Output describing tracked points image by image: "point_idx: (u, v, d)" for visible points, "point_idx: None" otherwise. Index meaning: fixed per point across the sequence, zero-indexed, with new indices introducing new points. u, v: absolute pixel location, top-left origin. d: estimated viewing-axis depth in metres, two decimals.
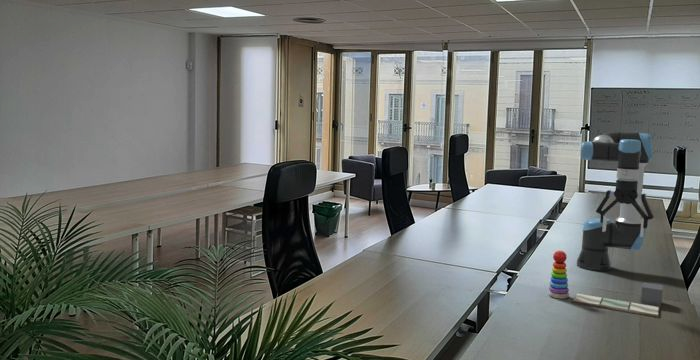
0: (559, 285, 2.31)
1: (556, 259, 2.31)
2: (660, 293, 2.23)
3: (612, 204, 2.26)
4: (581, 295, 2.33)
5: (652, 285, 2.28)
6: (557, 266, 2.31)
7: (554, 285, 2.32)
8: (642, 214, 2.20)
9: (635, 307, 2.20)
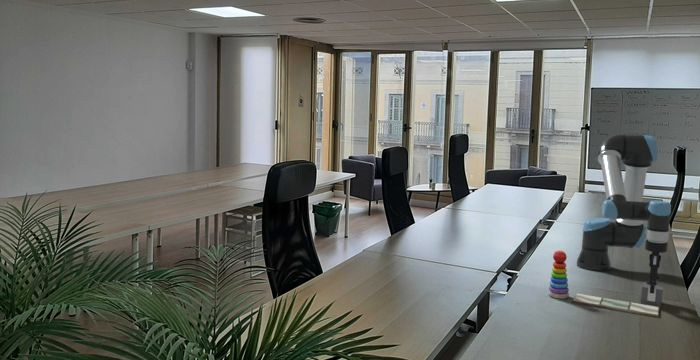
0: (559, 285, 2.31)
1: (556, 259, 2.31)
2: (660, 292, 2.23)
3: None
4: (581, 295, 2.33)
5: None
6: (557, 266, 2.31)
7: (554, 285, 2.32)
8: None
9: (635, 307, 2.20)
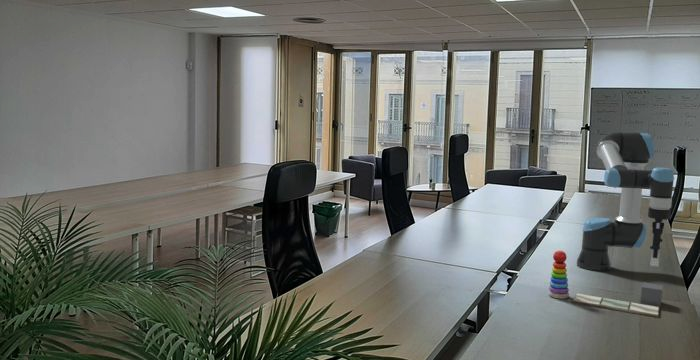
0: (559, 285, 2.31)
1: (556, 259, 2.31)
2: (659, 293, 2.23)
3: None
4: (581, 295, 2.33)
5: (652, 285, 2.28)
6: (557, 266, 2.31)
7: (554, 285, 2.32)
8: None
9: (635, 307, 2.20)
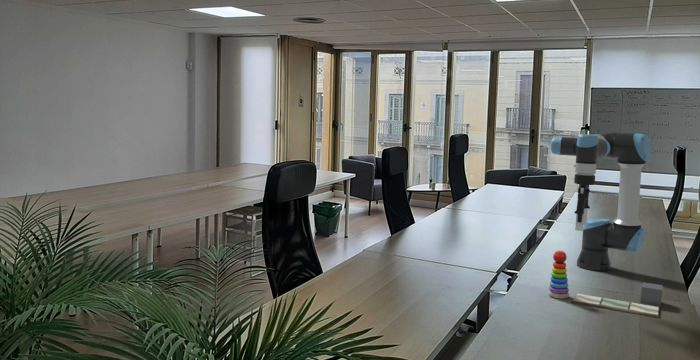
0: (559, 285, 2.31)
1: (556, 259, 2.31)
2: (659, 293, 2.23)
3: None
4: (581, 295, 2.33)
5: (652, 285, 2.28)
6: (557, 266, 2.31)
7: (554, 285, 2.32)
8: None
9: (635, 307, 2.20)
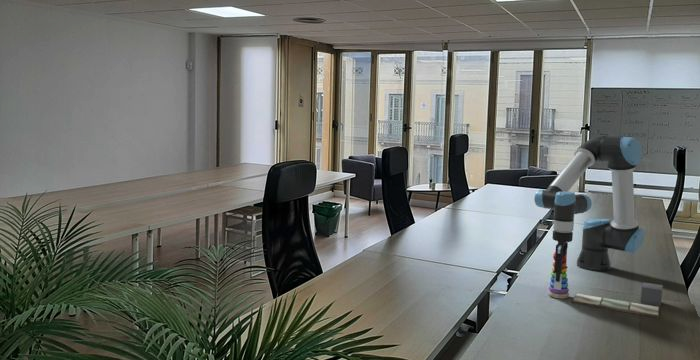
0: None
1: None
2: (659, 293, 2.23)
3: None
4: (581, 295, 2.33)
5: (652, 285, 2.28)
6: None
7: None
8: None
9: (635, 307, 2.20)
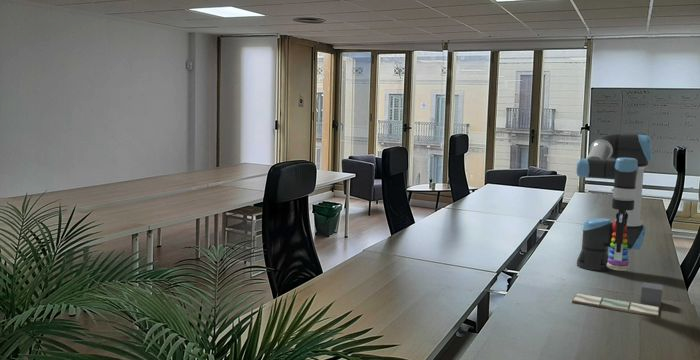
0: None
1: None
2: (659, 293, 2.23)
3: None
4: (581, 295, 2.33)
5: (652, 285, 2.28)
6: None
7: None
8: None
9: (635, 307, 2.20)
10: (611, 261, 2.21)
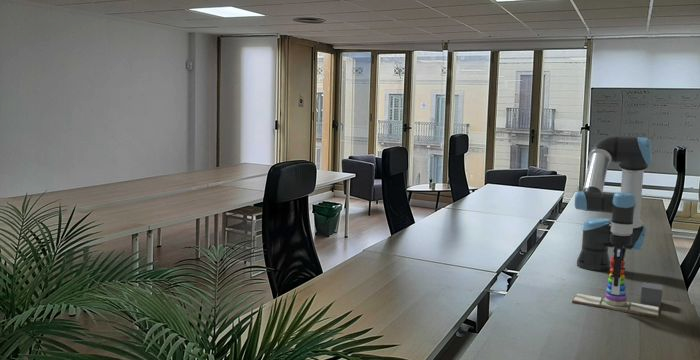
0: None
1: None
2: (659, 293, 2.23)
3: None
4: (581, 295, 2.33)
5: (652, 285, 2.28)
6: None
7: None
8: None
9: (635, 307, 2.20)
10: (609, 296, 2.22)
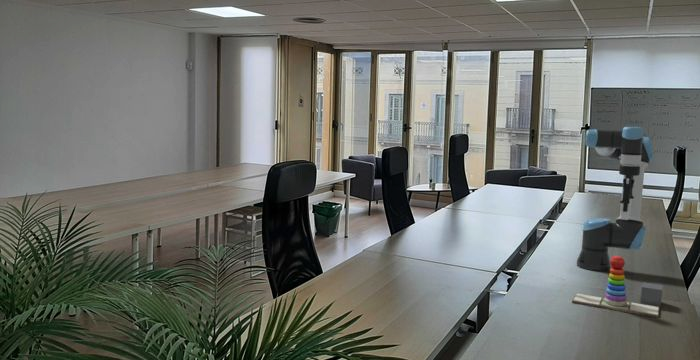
0: (617, 292, 2.21)
1: (614, 265, 2.21)
2: (659, 293, 2.23)
3: None
4: (581, 295, 2.33)
5: (652, 285, 2.28)
6: (615, 272, 2.21)
7: (612, 292, 2.22)
8: None
9: (635, 307, 2.20)
10: (609, 297, 2.22)
